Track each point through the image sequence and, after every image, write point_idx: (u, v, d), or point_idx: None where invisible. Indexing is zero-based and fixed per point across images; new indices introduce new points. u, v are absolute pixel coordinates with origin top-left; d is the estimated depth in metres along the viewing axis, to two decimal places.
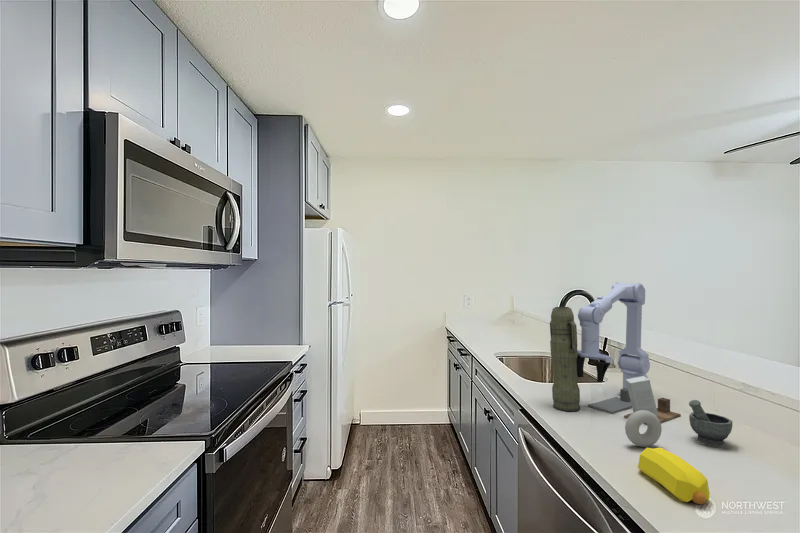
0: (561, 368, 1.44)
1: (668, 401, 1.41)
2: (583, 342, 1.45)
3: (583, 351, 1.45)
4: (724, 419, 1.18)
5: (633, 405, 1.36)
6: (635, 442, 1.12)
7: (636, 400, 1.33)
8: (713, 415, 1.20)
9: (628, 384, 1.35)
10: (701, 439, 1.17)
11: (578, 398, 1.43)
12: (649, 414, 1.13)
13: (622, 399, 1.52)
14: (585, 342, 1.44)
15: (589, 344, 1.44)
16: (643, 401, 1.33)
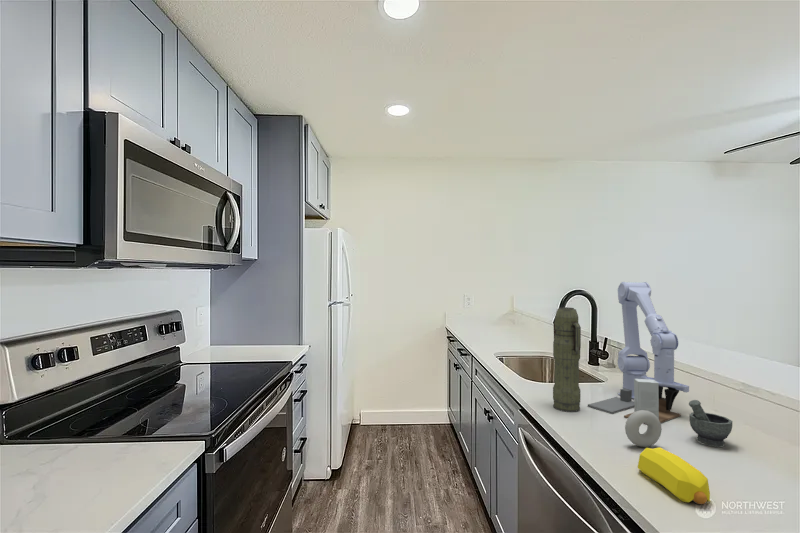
0: (563, 369, 1.43)
1: None
2: (657, 370, 1.41)
3: (657, 379, 1.41)
4: (724, 419, 1.18)
5: (636, 405, 1.36)
6: (635, 442, 1.12)
7: (641, 400, 1.33)
8: (713, 415, 1.20)
9: (636, 383, 1.36)
10: (701, 439, 1.17)
11: (579, 399, 1.43)
12: (649, 414, 1.13)
13: (622, 399, 1.52)
14: (660, 370, 1.40)
15: (664, 372, 1.39)
16: (646, 402, 1.33)
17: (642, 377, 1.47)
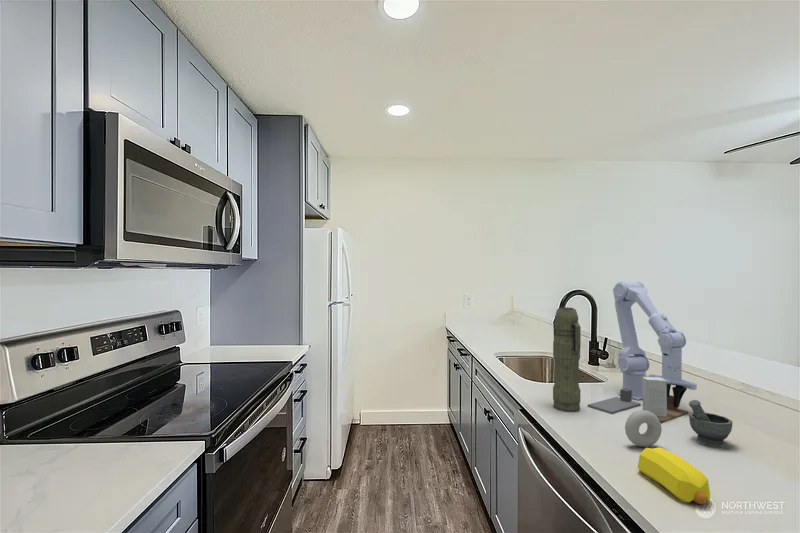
0: (562, 369, 1.43)
1: None
2: (665, 368, 1.44)
3: (665, 377, 1.44)
4: (724, 419, 1.18)
5: (644, 402, 1.39)
6: (635, 442, 1.12)
7: (649, 397, 1.36)
8: (713, 415, 1.20)
9: (644, 381, 1.38)
10: (701, 439, 1.17)
11: (579, 399, 1.43)
12: (649, 414, 1.13)
13: (622, 399, 1.52)
14: (667, 368, 1.43)
15: (672, 370, 1.42)
16: (655, 400, 1.36)
17: (650, 375, 1.50)
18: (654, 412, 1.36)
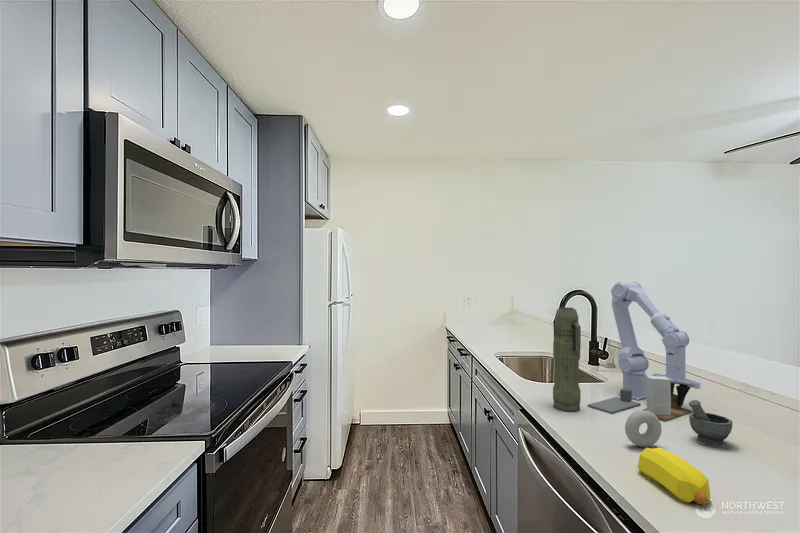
0: (562, 369, 1.43)
1: None
2: (669, 367, 1.45)
3: (669, 376, 1.45)
4: (724, 419, 1.18)
5: (648, 401, 1.40)
6: (635, 442, 1.12)
7: (653, 396, 1.38)
8: (713, 415, 1.20)
9: (648, 380, 1.40)
10: (701, 439, 1.17)
11: (579, 399, 1.43)
12: (649, 414, 1.13)
13: (622, 399, 1.52)
14: (671, 367, 1.44)
15: (676, 369, 1.44)
16: (659, 399, 1.37)
17: (654, 374, 1.51)
18: (658, 411, 1.37)
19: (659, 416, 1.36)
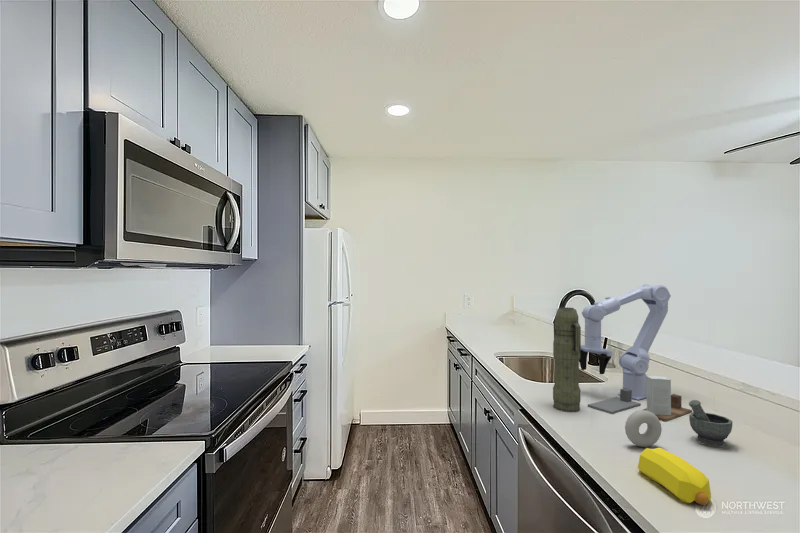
0: (562, 369, 1.43)
1: (680, 398, 1.45)
2: (586, 338, 1.59)
3: (586, 346, 1.59)
4: (724, 419, 1.18)
5: (648, 401, 1.40)
6: (635, 442, 1.12)
7: (653, 396, 1.38)
8: (713, 415, 1.20)
9: (648, 380, 1.40)
10: (701, 439, 1.17)
11: (579, 399, 1.43)
12: (649, 414, 1.13)
13: (622, 399, 1.52)
14: (588, 338, 1.59)
15: (592, 339, 1.58)
16: (659, 398, 1.37)
17: None
18: (658, 411, 1.37)
19: (659, 416, 1.36)
